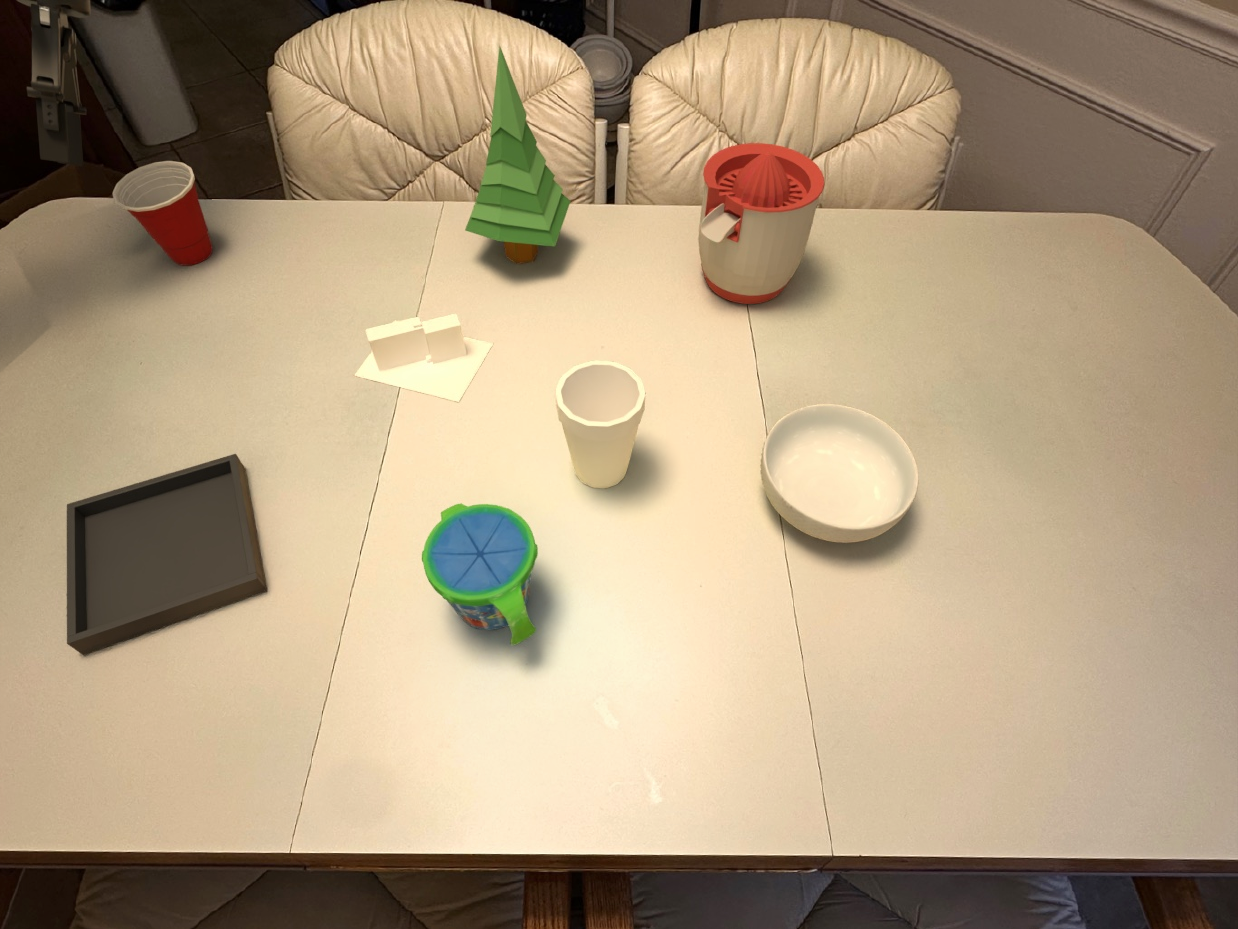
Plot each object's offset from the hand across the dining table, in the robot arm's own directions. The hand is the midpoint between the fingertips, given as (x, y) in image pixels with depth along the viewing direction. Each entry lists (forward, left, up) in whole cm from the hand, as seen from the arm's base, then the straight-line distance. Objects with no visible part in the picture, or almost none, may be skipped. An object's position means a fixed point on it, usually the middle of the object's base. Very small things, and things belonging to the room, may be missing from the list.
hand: (63, 163), depth 93 cm
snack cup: (+76, +6, -18) cm, 78 cm away
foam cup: (+71, +26, -18) cm, 78 cm away
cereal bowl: (+92, +42, -18) cm, 103 cm away
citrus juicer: (+60, +64, -18) cm, 90 cm away
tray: (+48, -16, -18) cm, 54 cm away
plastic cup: (0, +8, -18) cm, 20 cm away
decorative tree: (+33, +45, -18) cm, 59 cm away
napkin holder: (+42, +21, -18) cm, 51 cm away
